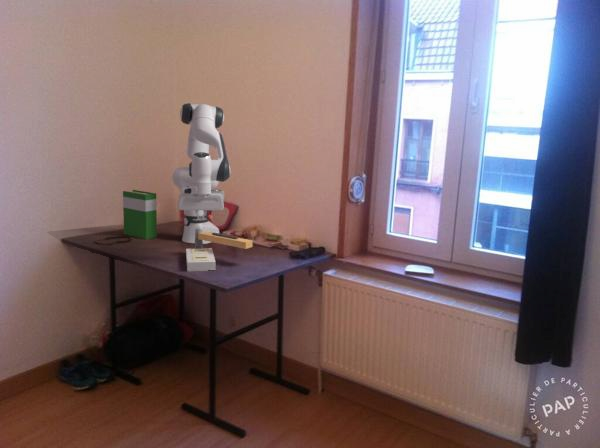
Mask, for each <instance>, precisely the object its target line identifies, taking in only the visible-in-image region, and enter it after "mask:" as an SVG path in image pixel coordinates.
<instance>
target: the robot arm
mask: <svg viewBox="0 0 600 448" xmlns="http://www.w3.org/2000/svg"><path fill="white" fill-rule="evenodd" d="M179 117H180V121H181V122H182V123H183V124H185V125H189V126H190V127H189V132H188V138H187V139H188V140H187V149H186V154H187V156H188V158H189V159H190V160H191V162H190V163H189V164H188V166H184V167H183V166H181V167H177V168H175V169H174V170H173V172H172V176H171V178H172V182H173V183H174V185H175V186H176V187H177V188H178V189H179V191H180V194H179V197H178V201H177V209H178V210H179V211H184V215H183V216H184V217H183V225H184V228H183V234H182V237H181V241H182V242H184V243H186V244H187V243H188V244H195V229H202V232H205V231H206V232H211V233H219V234H221V233H220V228H218V226H216V225H215V224H214V223H212V222H211V221H210V220H212V219H213V215H210V214H209V215H208V214H207V213H208V211H224V209H225V208H224V207H225V205H224V199H225V195H226V194H225V192H224V191H223V190H222V189H216V188H217V187H218V185H219V183H220V182H222V183H224V182H226V181H227V180H228V179H229V178H230V176H231V171H232V170H231V166H230V164H229V159H228V154H227V150H226V147H225V141H224V137H223V134H222V132H219V131H218V130H217V129H219V128H220V127H221V126H222V125H223V123H224V121H225V113H224V110H223V108H221V107H218V106H214V105H213V106H212V105H208V104H207V103H206V104H205V103H201V104H200V103H188V102H186V103H184V104H182V106H181V108H180V110H179ZM210 147H213V148H214V149H215V150H216V154H217V159H212V158H211V154H210ZM211 243H212V242H209V241H204V240H203V245H207V244H211Z"/></svg>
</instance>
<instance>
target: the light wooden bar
mask: <svg viewBox="0 0 600 448" xmlns="http://www.w3.org/2000/svg"><path fill="white" fill-rule="evenodd" d="M219 233H220V232H219ZM219 233H211V232H206V231H205V232H202V229H195V238H198V239H199V240H204V241H209V242H211V243H215V244H219V245H225V246H230V247H234V248H239V249H244V250H247V249H250V248H253V239H248V238H243V237H242V238H241V237H239V236H233V235H228V234H223V233H220V234H219Z"/></svg>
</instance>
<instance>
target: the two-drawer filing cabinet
mask: <svg viewBox="0 0 600 448" xmlns="http://www.w3.org/2000/svg"><path fill="white" fill-rule="evenodd" d="M203 245H204V244H203V240H199V239H198V238H195V243H194V248H186V249H185V253H186V254H185V257H186V258H185V259H186V270H187V272H209V271H208V270H217V269H216V268H217V267H216V266H217V265H216V258H215V255H214V252H213V248H212V247H210V248H209V247H208V248H207V247H203Z"/></svg>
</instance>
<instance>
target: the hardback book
mask: <svg viewBox="0 0 600 448" xmlns="http://www.w3.org/2000/svg"><path fill="white" fill-rule="evenodd" d="M122 198H123V199H122V202H123V203H122V206H123V208H122V210H123V213H122V215H123V235H126V236H130V237H135V238H139V239H143V240H150V239H154V238H157V237H158V229H157V228H158V223H157V219H158V218H157V193H156V192H151V191H149V192H148V191H142V190H137V189H132V191H126V190H123V191H122Z"/></svg>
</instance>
